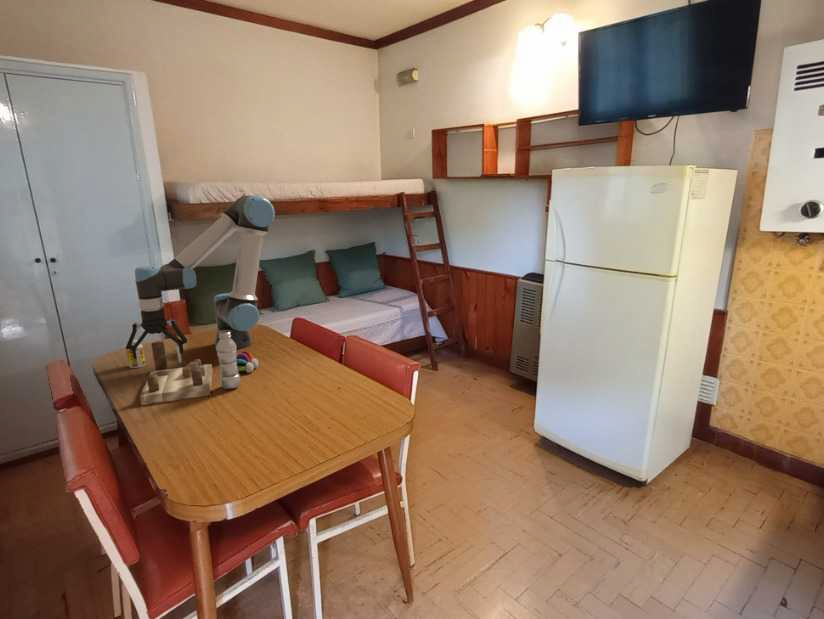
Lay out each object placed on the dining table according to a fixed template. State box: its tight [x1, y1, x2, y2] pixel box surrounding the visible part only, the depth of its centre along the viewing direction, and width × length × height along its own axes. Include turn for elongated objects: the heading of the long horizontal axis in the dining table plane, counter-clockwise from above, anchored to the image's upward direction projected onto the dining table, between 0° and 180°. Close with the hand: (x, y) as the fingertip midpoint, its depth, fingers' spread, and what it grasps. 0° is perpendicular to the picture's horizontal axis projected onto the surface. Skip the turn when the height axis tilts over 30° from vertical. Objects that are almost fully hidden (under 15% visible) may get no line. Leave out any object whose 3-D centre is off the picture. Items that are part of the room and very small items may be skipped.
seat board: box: [139, 363, 213, 406], centre depth 158 cm, size 20×22×8 cm
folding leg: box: [181, 358, 202, 377], centre depth 163 cm, size 9×3×3 cm, turn 178°
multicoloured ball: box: [236, 350, 259, 374], centre depth 172 cm, size 8×10×7 cm
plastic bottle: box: [215, 330, 241, 390], centre depth 155 cm, size 6×7×20 cm
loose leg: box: [151, 340, 169, 371], centre depth 172 cm, size 4×4×11 cm
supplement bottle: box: [125, 339, 146, 369], centre depth 177 cm, size 6×6×10 cm
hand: (160, 363), depth 172 cm, fingers open, 13 cm apart
